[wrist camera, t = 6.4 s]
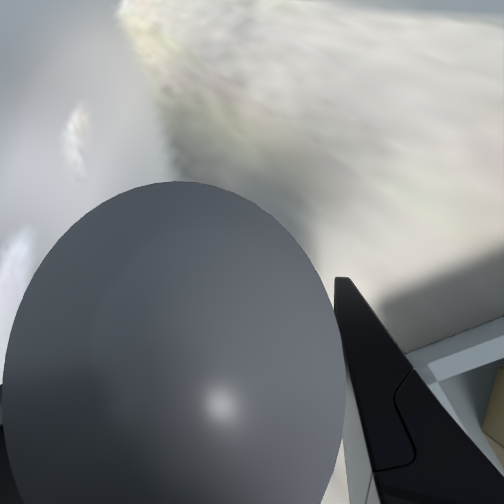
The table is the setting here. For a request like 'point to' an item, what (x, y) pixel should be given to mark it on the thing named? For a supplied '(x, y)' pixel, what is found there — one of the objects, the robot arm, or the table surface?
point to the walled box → (470, 383)
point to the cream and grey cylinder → (174, 359)
